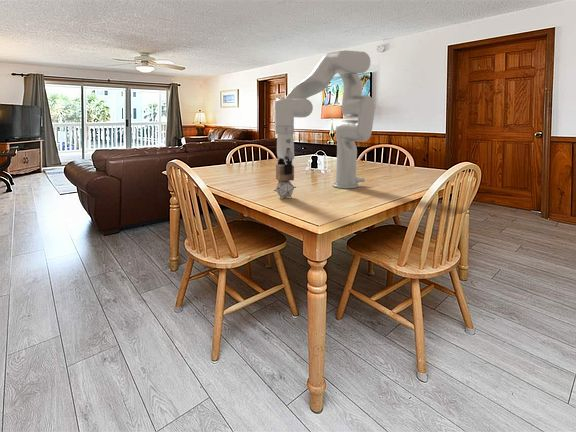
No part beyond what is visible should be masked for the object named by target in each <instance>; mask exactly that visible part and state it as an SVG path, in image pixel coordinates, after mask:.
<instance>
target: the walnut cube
mask: <svg viewBox="0 0 576 432" xmlns="http://www.w3.org/2000/svg"><path fill="white" fill-rule="evenodd" d="M284 165H285V164H280V165H278V164H275V179H276V180H277V181H278V180H279V181H290V182H291V181H295V165H293V164H292V174H288V175H285V174H284ZM279 181H278V182H279Z"/></svg>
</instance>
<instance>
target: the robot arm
mask: <svg viewBox="0 0 576 432" xmlns="http://www.w3.org/2000/svg"><path fill="white" fill-rule="evenodd" d="M371 63H372V61H371V58H370V55H369V54H368V53H367V52H366V51H359V50H358V51H357V50H356V51H355V50H347V49H346V50H337V51H331V52H328V53H325V54H324V55H323V56H322V58H321V59H320V60H319V62H318V63H317V64H316V66H315V67H314V69H312V71H311V73H310V74H309V75H308V76H307V77H306V78H305V79H303V80H302V81H301V82H298V84H297V85H296V86H294V87H293V88H292V89H291V90H290V91H289V92H288V94H287V95H286V96H285V98H277V99H275V101H274V102H275V103H274V111H275V112H274V116H275V117H274V121H275V122H274V123H275V124H274V125H275V127H274V129H275V130H274V134H275V135H277V136H276V155H277V156H276V157H277V165H280V164H285V165H284V174H285V175H288V174H292V165H293V160H294V159H295V141H294V140H295V139H294V133H295V131H294V130H295V122H294V121H295V118H298V119H299V118H307V117H309V116H310V115H312V113H313V109H314V106H313V104H312V101H311V100H309V99H308V98H310V97H312V96H315V95H317V94H320V93H321V92H323V91H324V90H325V89H327V87H328V85H329V83H331V81H332V79H333V78H334V76H335V75H336V74H338V75H339V77H340V78H341V81H342V82H343V93H342V99H341V100H342V101H341V113H342V115H343V116H344V117H347V118H357V119H356V120H355V119H345V120H341V121H340V122H338V123H337V124H336V127H335V138H336V171H335V174H336V175H335V182H333V183H332V187H334V188H338V189H357V188H358V187H359V185H360V184H359V183H364V182H365V178H364V177H358V176H357V160H358V158H357V157H358V149H357V145H356V143H355V142H357V143H358V142H361V143H363V142H367V141H368V140H369V139H370V138H371V136H372V133H373V125H374V119H375V118H374V117H375V110H376V109H375V108H376V104H375V101H374V99H373V98H372V97H371V96H369V95H366V94H365V95H363V83H362V79H361V77H360V76H359V74H363V73H364V74H365V73H366V72H367V71H368V70H369V69H370V67H371Z"/></svg>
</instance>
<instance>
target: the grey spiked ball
mask: <svg viewBox="0 0 576 432" xmlns="http://www.w3.org/2000/svg"><path fill="white" fill-rule="evenodd" d="M296 188H297V186H294V185H293V184H292V182H291V181H279V180H277V185H276V188H275V189H274V190H273V191H274V192H276V193H277V194H278V196H279V197H280V198H279V200H281V199H282V198H291V199H292V198H293V197H292V195H293V191H294V190H295V189H296Z"/></svg>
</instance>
